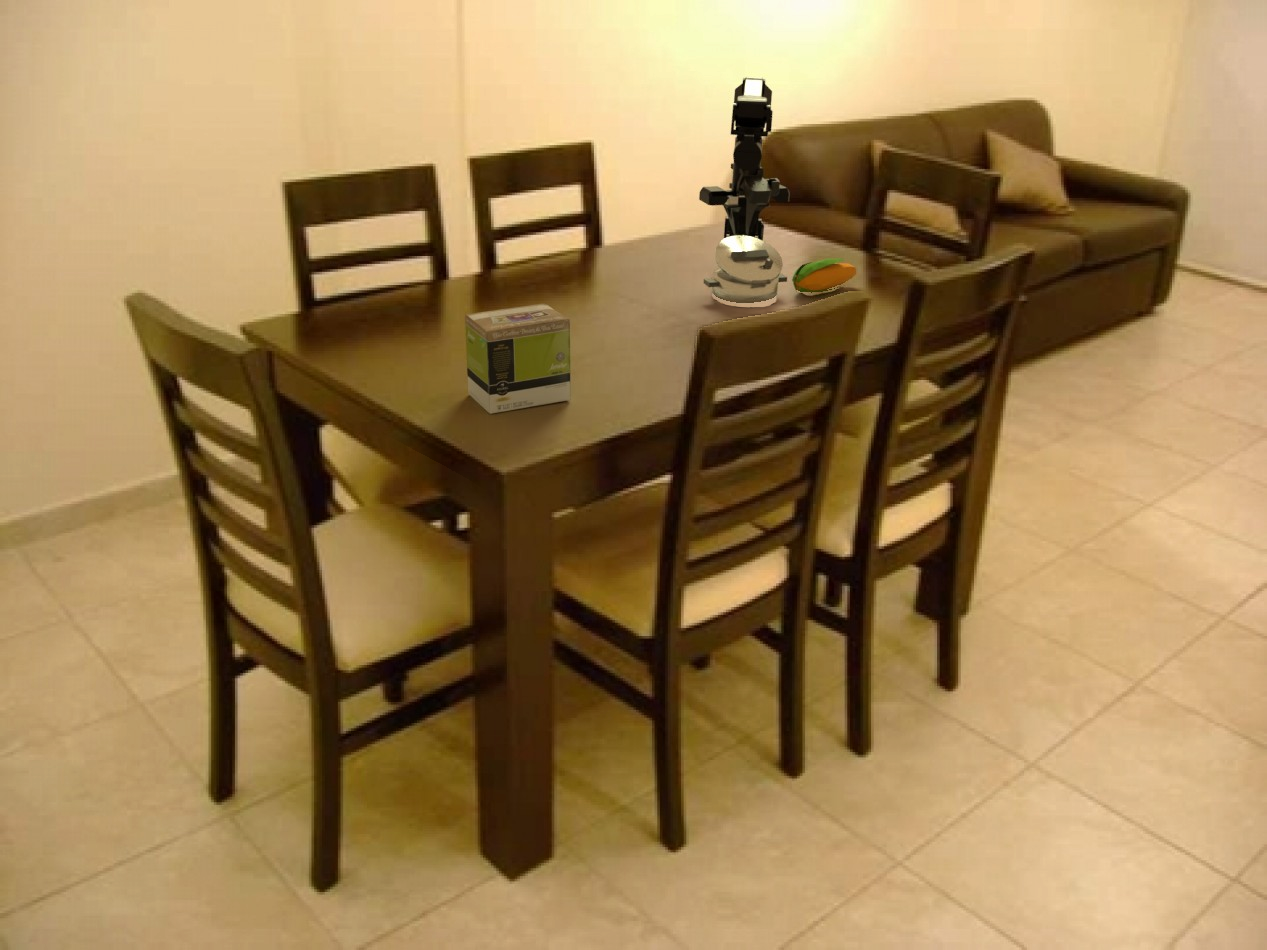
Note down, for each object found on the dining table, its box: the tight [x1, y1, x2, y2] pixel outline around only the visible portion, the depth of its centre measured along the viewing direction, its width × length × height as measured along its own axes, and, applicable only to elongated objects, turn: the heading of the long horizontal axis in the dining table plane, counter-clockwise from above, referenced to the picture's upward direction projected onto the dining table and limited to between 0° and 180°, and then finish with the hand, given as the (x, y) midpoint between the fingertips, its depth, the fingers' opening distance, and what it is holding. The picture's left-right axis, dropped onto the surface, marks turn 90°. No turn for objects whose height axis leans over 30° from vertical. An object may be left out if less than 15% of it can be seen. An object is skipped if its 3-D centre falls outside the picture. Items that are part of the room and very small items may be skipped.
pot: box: [703, 268, 788, 303], centre depth 258 cm, size 14×18×5 cm
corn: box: [791, 258, 857, 293], centre depth 265 cm, size 7×8×20 cm
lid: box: [714, 235, 783, 285], centre depth 254 cm, size 15×15×3 cm
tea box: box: [464, 303, 572, 414], centre depth 200 cm, size 15×10×15 cm
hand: (741, 234), depth 257 cm, fingers open, 3 cm apart
